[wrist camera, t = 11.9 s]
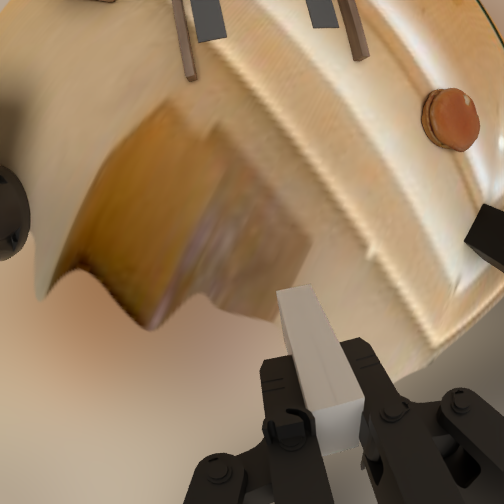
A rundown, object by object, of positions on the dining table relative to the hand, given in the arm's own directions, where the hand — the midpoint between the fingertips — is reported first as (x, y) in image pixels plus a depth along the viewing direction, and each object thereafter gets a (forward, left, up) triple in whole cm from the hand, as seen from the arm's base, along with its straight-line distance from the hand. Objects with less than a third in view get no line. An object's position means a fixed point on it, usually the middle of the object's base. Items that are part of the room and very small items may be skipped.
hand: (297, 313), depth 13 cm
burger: (+30, +8, -27) cm, 41 cm away
